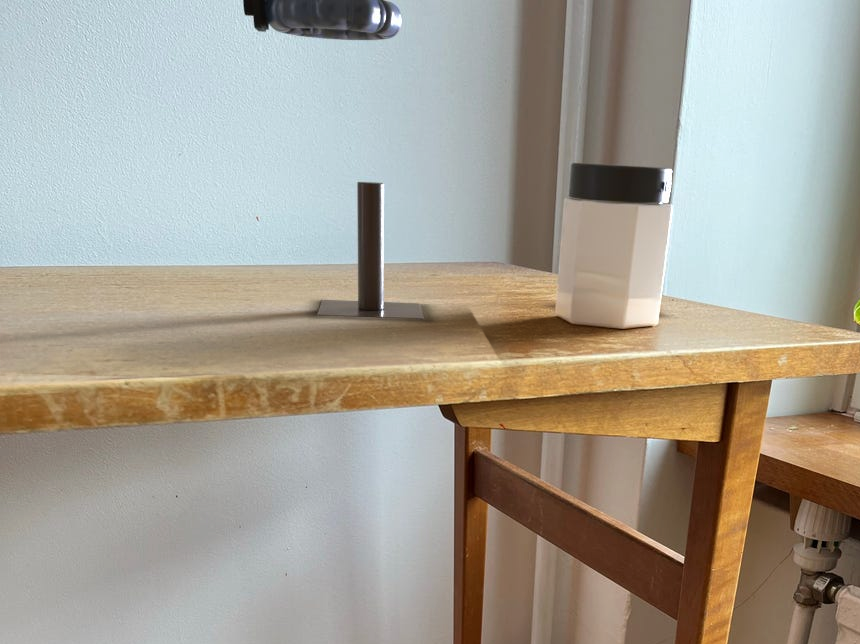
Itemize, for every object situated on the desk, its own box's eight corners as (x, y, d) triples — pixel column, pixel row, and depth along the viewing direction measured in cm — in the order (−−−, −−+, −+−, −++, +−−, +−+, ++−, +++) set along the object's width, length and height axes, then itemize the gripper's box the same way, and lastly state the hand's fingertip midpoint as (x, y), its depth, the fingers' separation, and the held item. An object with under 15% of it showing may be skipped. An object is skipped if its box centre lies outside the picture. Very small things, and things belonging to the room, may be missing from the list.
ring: (259, 23, 63) (257, -15, 62) (272, 36, 71) (271, 4, 70) (402, 31, 64) (403, -5, 63) (399, 44, 72) (400, 12, 71)
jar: (670, 330, 81) (691, 169, 76) (576, 328, 79) (591, 164, 74) (632, 313, 89) (649, 166, 83) (546, 311, 87) (557, 161, 82)
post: (317, 328, 73) (313, 181, 69) (322, 312, 80) (319, 178, 76) (423, 332, 74) (427, 187, 70) (419, 315, 81) (422, 183, 77)
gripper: (115, -372, 54) (151, 18, 63) (405, -344, 56) (403, 32, 64) (144, -316, 61) (173, 30, 69) (402, -292, 63) (400, 42, 71)
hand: (284, 28), depth 67 cm, fingers closed on ring, 2 cm apart
